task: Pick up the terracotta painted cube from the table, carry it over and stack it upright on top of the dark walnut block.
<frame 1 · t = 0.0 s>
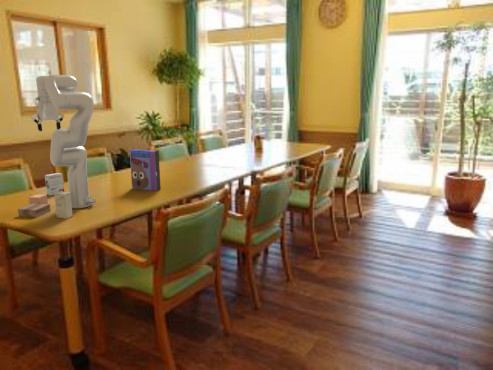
hand: (49, 130, 229), 37 cm above the table, tool pointing down, fingers open, 9 cm apart
skincare box: (65, 217, 196), on the table
terracotta cube: (39, 206, 213), on the table
walnut block: (35, 214, 201), on the table
ink box: (55, 193, 239), on the table
cereal box: (146, 189, 249), on the table
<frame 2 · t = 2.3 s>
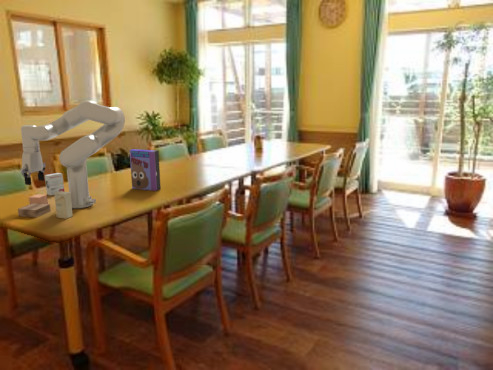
hand: (35, 182, 210), 13 cm above the table, tool pointing down, fingers open, 9 cm apart
nothing on the table moved.
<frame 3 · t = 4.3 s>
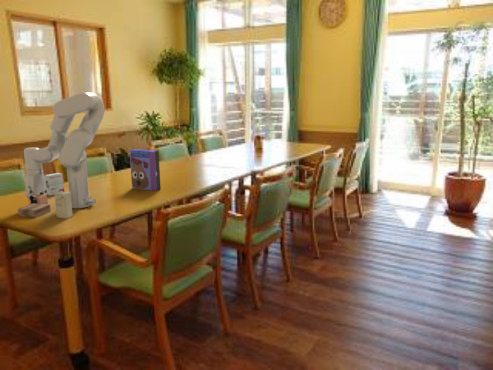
hand: (39, 205, 212), 1 cm above the table, tool pointing down, fingers closed on terracotta cube, 6 cm apart
terracotta cube: (39, 206, 213), on the table, touching gripper
everything else where it was.
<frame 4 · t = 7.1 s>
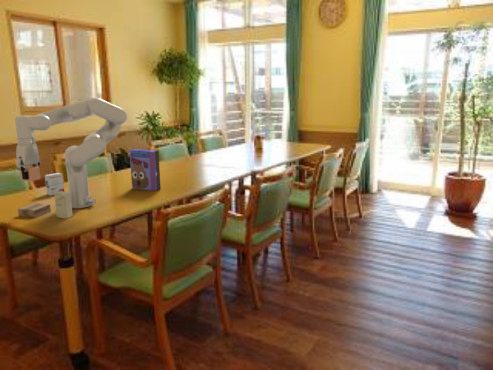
hand: (31, 177, 200), 18 cm above the table, tool pointing down, fingers closed on terracotta cube, 6 cm apart
terracotta cube: (31, 179, 200), point 17 cm above the table, touching gripper
everything else where it was.
when the fingers open (6 cm above the table, at t = 10.3 s): terracotta cube drops 2 cm, resting on walnut block.
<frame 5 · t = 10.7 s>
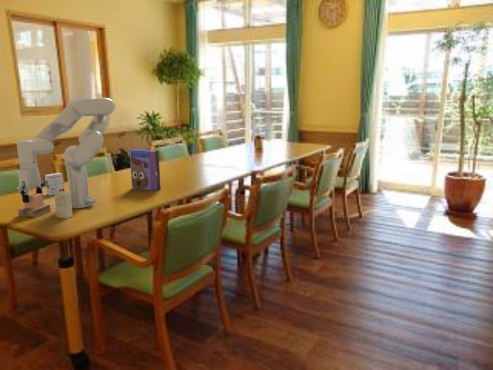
hand: (33, 199, 199), 7 cm above the table, tool pointing down, fingers open, 9 cm apart
terracotta cube: (34, 206, 200), point 4 cm above the table, touching walnut block
walnut block: (35, 214, 201), on the table, touching terracotta cube
everything else where it was.
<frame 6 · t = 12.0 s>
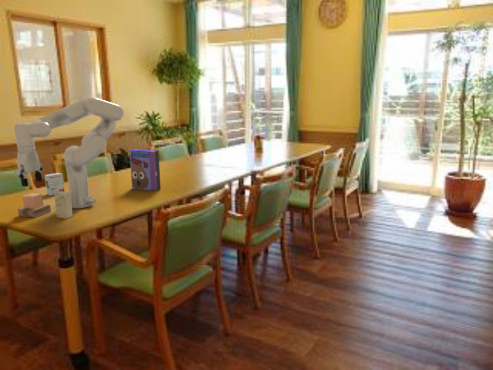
hand: (32, 183, 198), 15 cm above the table, tool pointing down, fingers open, 9 cm apart
terracotta cube: (33, 206, 200), point 4 cm above the table
walnut block: (35, 214, 201), on the table
everything else where it was.
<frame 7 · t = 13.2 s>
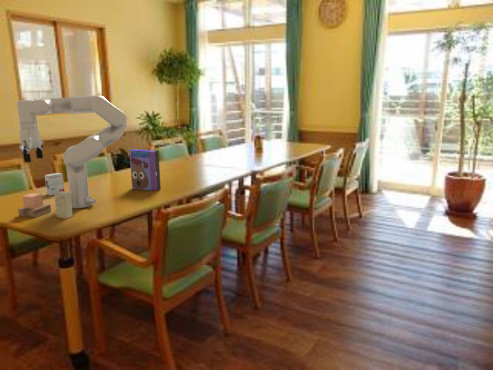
hand: (34, 160, 203), 25 cm above the table, tool pointing down, fingers open, 9 cm apart
nothing on the table moved.
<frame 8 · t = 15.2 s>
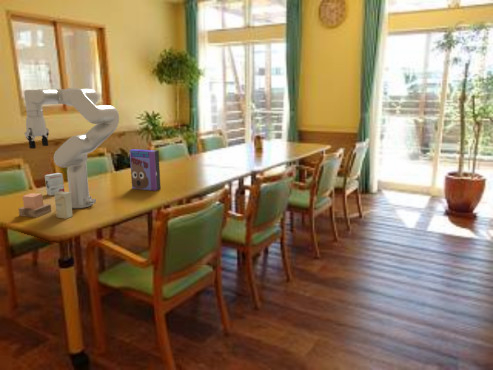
hand: (39, 147, 214), 30 cm above the table, tool pointing down, fingers open, 9 cm apart
terracotta cube: (34, 206, 200), point 4 cm above the table, touching walnut block
walnut block: (35, 214, 201), on the table, touching terracotta cube
everything else where it was.
at the end: terracotta cube 0.4 cm off-centre on the walnut block, point 4.1 cm above the walnut block's base; terracotta cube tilted 1°; terracotta cube touching walnut block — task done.
